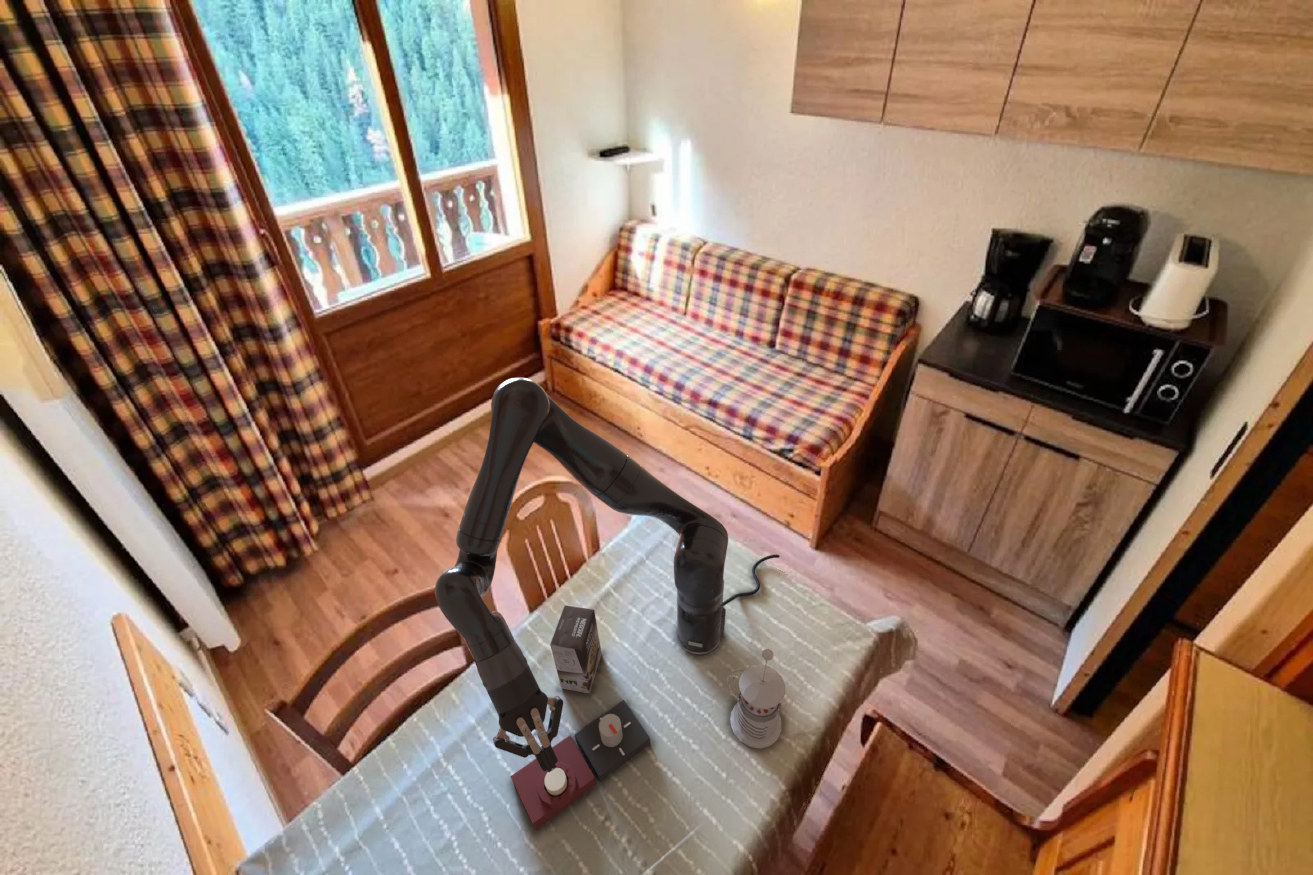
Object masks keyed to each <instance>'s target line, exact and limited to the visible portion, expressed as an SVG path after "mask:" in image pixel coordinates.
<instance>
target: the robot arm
mask: <svg viewBox="0 0 1313 875" xmlns="http://www.w3.org/2000/svg"><path fill="white" fill-rule="evenodd" d="M490 411H491V419H490V427H489V434H488V440H487V445H486V449H485V453H484V457H483V459H482V462H481V466H480V469H479V471H478V474H477V476H476V479H475V481H474V483H473V486H472V489H471V491H470V493H469V497H468V499H467V500H466V501H467V502H466V505H465V507H464V510H463V514H462V517H461V519H460V524H459V526H458V530H457V533H456V538H455V543H456V546H457V548H458V549H459V550H458V551H459V552H458V555H457V559H456V562H455V565H454V566H453V567H450V568H449V569H448V570H446V571H444V572H443V573H442V574H441V575H439V577H438V578H437V580H436V583H435V587H434V596H435V600H436V603H437V606H438V608H439V610H440V612H441V613H442V614H443V616H444V617H445V619H447V622H449V623H450V624H451V626H452V627H453V628H454V629H455V631H456V632H457V633H458V634H459V635H460V636H461V637H462V639H463V640H464V643H465V644H466V647H467V649H468V651H469V653H470V655H471V657H472V659H473V661H474V664H475V667H476V670H477V672H478V676H479V678H480V680H481V682H482V685H483V687H484V688H485V691H486V692H487V694H488V696H489V699H490V702H491V703H492V705H493V706H494V707H493V708H494V710H495V712H496V713H497V716H498V725H499V729H498V731H497V734H496V735H495V736H494V737H493V738H492V743H493V745H494V747H495V749H498V750H502V751H504V752H507V753H509V754H513V755H515V756H518V757H521V758H524V759H525V758H528V757H529V756H532V755H533V756H534V757H535V759H537V761H538V763H539V765H540V767H541V769H542V770H543V771H544V772H545V771H546V770H547V771H548V772H551V771H552V770H554V769H555V768H556V765H555V764H556V763H557V762H558V760H557V757H556V755H555V753H554V751H553V749H552V747H553V746H552V741H553V740H554V739H555V738H556V737H557V736H558V734H559V729H560V724H561V719H562V713H563V707H564V700H563V699H562V697H560V696H559V695H556V696H554V697H553V696H552V697H551V696H548V695H547V694H546V693H545V692H544V691H542V689H541V688H540V686H539V684H538V682H537V680H536V678H535V675H534V674H533V671H532V669H531V667H530V665H529V664H528V659H527V657H526V656H525V655H524V652H523V650H522V649H521V647H520V646H519V645H518V643H517V640H515V637H514V635H513V633H512V631H511V629H510V628H509V625H508V623H507V621H506V620H505V617H504V616H503V614H501V612H499V611H497V610H492V611H491V610H490V608H489V606H488V605H487V604H486V602H485V601H484V599H483V598H484V596H486V594H488V591H489V590H490V587H491V585H492V582H493V580H494V576H495V571H496V564H497V559H498V558H497V557H498V548H499V546H500V543H501V540H502V537H503V534H504V531H505V527H506V524H507V521H508V518H509V514H510V511H511V508H512V504H513V501H514V497H515V493H516V490H517V485H518V483H519V480H520V476H521V472H522V470H523V467H524V465H525V463H526V460H527V458H528V455H529V453H530V450H531V448H532V447H533V444H535V445H537V446H538V447H540V448H541V449H542V450H544V451H546V452H547V453H548V454H549V455H551V456H552V457H553V458H554V459H555V460H556V461H557V462H558V463H559V464H560V465H561V466H562V467H563V468H564V469H565V471H567V472H568V473H569V474H570V475H571V476H572V478H573V479H575V480H576V481H577V483H579V484H580V485H581V486H582V487H583V488H585V489H586V490H587V491H588V492H589V493H590V494H591V495H593V496H594V497H595V498H596V499H598V500H599V501H601V502H602V503H603V504H605V505H606V506H607V507H609V508H610V509H612V510H613V511H615V512H618V513H620V514H624V515H630V516H640V517H641V516H642V517H651V518H655V519H657V520H659V521H661V522H663V523H664V524H666V525H667V526H668V527H670V528H671V529H672V530H674V531H675V533H677V535H678V536H679V537H678V540H677V545H676V549H675V552H674V556H673V578H674V586H675V589H676V617H677V618H676V619H677V620H676V622H677V624H676V627H677V629H676V639H677V642H678V644H679V646H680V648H682V649H683V651H685V652H686V653H688V654H690V655H693V656H697V657H698V656H700V657H701V656H706V655H709V654H711V653H712V652H713V651H715V650H716V649H717V648H718V647H719V644H720V642H721V639H723V638H724V637H725V626H726V615H727V614H726V612H727V610H726V608H725V606H726V605H728V604H729V603H731V602H732V601H734V600H735V599H737V598H740V597H748V596H752V595H756V594H757V593H758V592H759V591H760V588H761V582H760V579H759V577H758V575H757V574H756V569H757V567H758V566H759V565H760V564H762V563H763V562H766V561H767V560H771V559H779V558H780V557H781V555H779V554H769V555H767V556H764V557H762V558H760V559H758V560H756V562H755V563H754V564H753V566H752V567H751V574H752V577H753V579H754V580H755V583H756V587H755V589H753V590H751V591H750V590H749V591H746V592H745V591H744V592H739V593H736V594H733V595H732V596H730V597H728V598H727V599H726V600H724V590H725V579H724V573H725V565H726V560H727V559H726V558H727V553H728V546H729V532H728V530H727V529H726V527H725V525H724V524H722V522H720V521H719V520H718V519H717V518H715V517H714V516H712V515H711V514H710V513H708V512H707V511H704V510H703V509H701V508H700V507H698V506H697V505H695V504H694V503H692V502H691V501H689V500H687V499H686V498H684V497H683V496H681V495H680V494H678V493H677V492H676V491H674V490H673V489H672V488H670V487H669V486H668V485H666V484H665V483H663V482H662V481H661V480H659V479H658V478H657V477H656V476H654V475H653V474H651V472H649V471H648V470H647V469H646V468H644V467H643V466H642V465H641V464H640V463H638V462H637V461H636V460H635V459H633V458H632V457H631V456H630V455H628V454H627V453H626V452H625V451H623V450H621V449H620V448H619V447H617V446H616V445H614V444H613V443H611V442H610V441H609V440H607V439H606V438H604V437H603V436H601V435H600V434H598V433H596V432H594V431H593V430H591V429H589V428H588V427H586V426H584V425H582V424H581V423H580V422H578V421H577V420H576V419H574V418H573V417H572V416H570V414H568V413H567V412H566V411H565V410H564V409H563V408H562V407H561V406H560V405H559V404H557V403H556V402H555V401H554V400H553V398H551V397H550V395H549V394H548V393H547V392H546V391H545V389H544V388H543V387H542V386H541V385H540V384H539V383H537V382H536V381H535V380H533V379H530V378H527V377H523V376H522V377H521V376H517V377H511V378H508V379H506V380H505V381H502V382H501V383H500V384H499V385H498V386H497V387H496V389H495V391H494V392H493V395H492V397H491V402H490ZM547 708H548V709H547ZM547 710H549V711H550V715H549V720H548V725H547V730H546V728H545V726H544V723H545V720H546V715H547ZM533 731H535V734H536V735H537V739H538V741H539V743H540V745H541V746H540V745H539V743H538V742H537V740H536V738H535V736H534V734H533V733H532V732H533ZM507 733H510V734H512V735H515V736H517V737H520V738H521V737H522V738H524V739H525V741H526V743H527V744H525V745H524V744H521V743H519V742H516V741H513V740H511V739H510V736H509V734H507Z"/></svg>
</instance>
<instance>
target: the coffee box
mask: <svg viewBox="0 0 1313 875" xmlns="http://www.w3.org/2000/svg"><path fill="white" fill-rule="evenodd" d="M549 645H550V649H551V653H552V658H553V661H554V665H555V669H556V674H557V677H558V681H559V685H560V688H561V689H565V690H568V691H574V692H580V693H584V694H590V693H591V690H592V687H593V685H594V684H593V683H594V680H595V677H596V674H597V670H598V667H599V664H600V661H601V657H602V648H601V642H600V637H599V630H598V624H597V618H596V611H595V609H593V608H587V607H580V606H579V607H578V606H572V605H566V604H565V605H563V609H562V611H561V614H560V616H559V619H558V622H557V624H556V628H555V630H554V633H553V635H552V638H551V641H550V644H549Z"/></svg>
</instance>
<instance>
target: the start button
mask: <svg viewBox="0 0 1313 875" xmlns="http://www.w3.org/2000/svg"><path fill="white" fill-rule="evenodd" d="M545 786H546V789H547V791H548V792H549V793H550V794H551V795H560V794H561V793H563V792H564V790H565V789H566V787H567V778H566V775H565V772H564V771H563V770H562V769H560V768H555V769H554V770H552V771H551V772H548V773H547V774H546V776H545Z"/></svg>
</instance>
